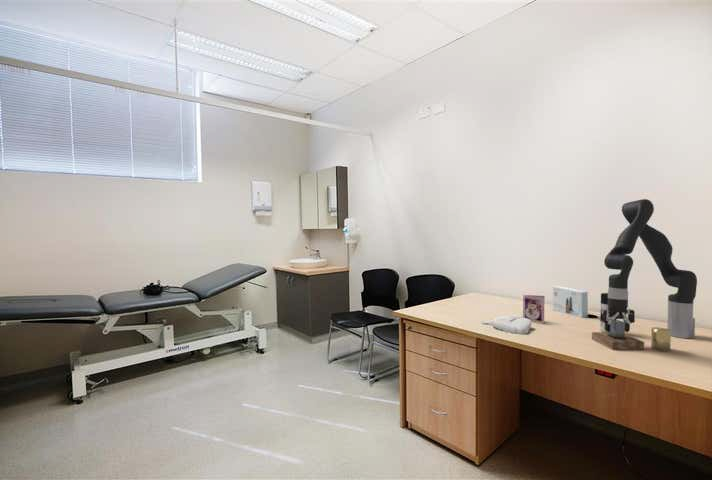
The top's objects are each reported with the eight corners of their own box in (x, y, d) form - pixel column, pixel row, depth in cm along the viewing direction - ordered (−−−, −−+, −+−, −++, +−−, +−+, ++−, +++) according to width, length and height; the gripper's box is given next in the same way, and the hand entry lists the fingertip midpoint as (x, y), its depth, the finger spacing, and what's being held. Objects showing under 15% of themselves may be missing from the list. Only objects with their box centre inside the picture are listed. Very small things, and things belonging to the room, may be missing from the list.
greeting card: (522, 320, 202) (522, 295, 201) (527, 318, 206) (527, 293, 206) (543, 324, 193) (543, 298, 192) (548, 321, 198) (548, 296, 197)
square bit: (617, 342, 162) (618, 320, 162) (624, 345, 158) (624, 322, 158) (609, 342, 162) (609, 320, 162) (615, 345, 158) (616, 322, 158)
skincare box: (551, 309, 226) (552, 286, 225) (558, 309, 227) (558, 285, 227) (581, 318, 206) (581, 291, 205) (588, 317, 207) (588, 291, 207)
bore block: (621, 339, 167) (621, 332, 167) (644, 349, 153) (644, 342, 153) (591, 339, 167) (591, 332, 167) (612, 349, 153) (612, 341, 153)
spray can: (609, 334, 175) (610, 295, 174) (596, 330, 181) (597, 293, 180) (619, 333, 176) (620, 294, 176) (606, 329, 183) (607, 292, 182)
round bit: (661, 346, 157) (662, 327, 156) (674, 351, 150) (675, 331, 150) (647, 346, 157) (647, 327, 157) (659, 351, 150) (659, 331, 150)
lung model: (527, 335, 174) (477, 331, 189) (533, 328, 188) (486, 324, 203) (526, 322, 174) (476, 319, 189) (532, 316, 188) (485, 313, 203)
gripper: (627, 295, 163) (626, 329, 163) (596, 295, 163) (596, 329, 164) (639, 298, 155) (639, 334, 156) (607, 298, 156) (607, 334, 156)
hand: (617, 331), depth 160 cm, fingers open, 8 cm apart
